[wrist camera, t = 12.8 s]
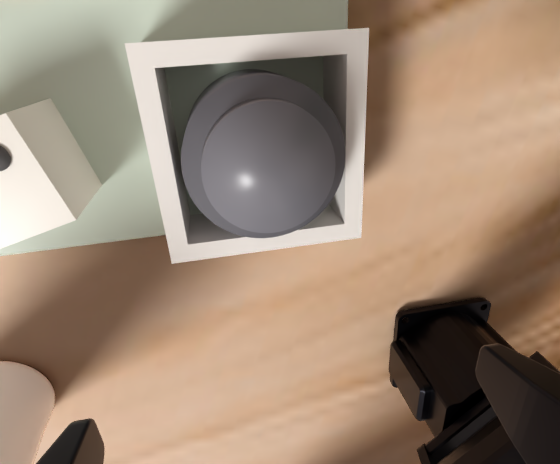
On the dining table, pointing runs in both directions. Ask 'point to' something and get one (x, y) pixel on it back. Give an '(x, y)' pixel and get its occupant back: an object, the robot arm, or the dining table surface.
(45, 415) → the white tapered vase
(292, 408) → the dining table surface
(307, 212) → the popper button
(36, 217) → the die
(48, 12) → the board
